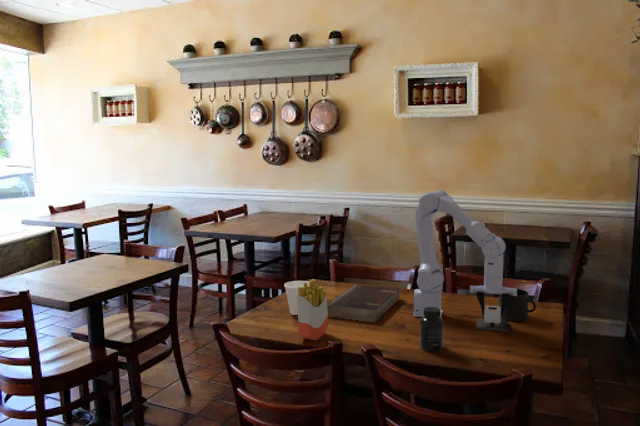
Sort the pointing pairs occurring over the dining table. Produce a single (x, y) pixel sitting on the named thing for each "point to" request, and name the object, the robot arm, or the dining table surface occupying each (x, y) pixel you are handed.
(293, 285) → the cup
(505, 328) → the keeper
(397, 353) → the dining table surface
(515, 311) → the mug
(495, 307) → the gray square hollow block
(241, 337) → the dining table surface
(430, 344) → the supplement bottle
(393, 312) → the dining table surface
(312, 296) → the french fries container
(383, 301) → the hardback book
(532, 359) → the dining table surface
